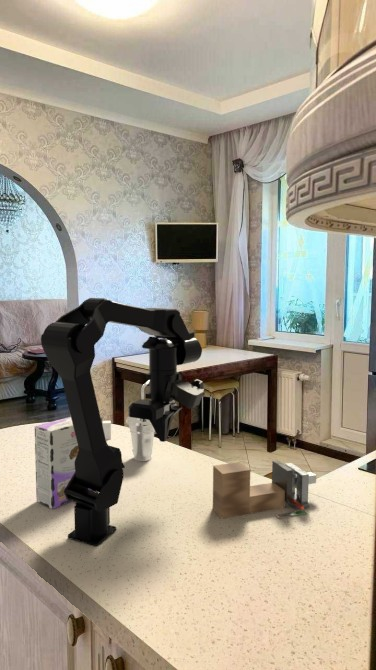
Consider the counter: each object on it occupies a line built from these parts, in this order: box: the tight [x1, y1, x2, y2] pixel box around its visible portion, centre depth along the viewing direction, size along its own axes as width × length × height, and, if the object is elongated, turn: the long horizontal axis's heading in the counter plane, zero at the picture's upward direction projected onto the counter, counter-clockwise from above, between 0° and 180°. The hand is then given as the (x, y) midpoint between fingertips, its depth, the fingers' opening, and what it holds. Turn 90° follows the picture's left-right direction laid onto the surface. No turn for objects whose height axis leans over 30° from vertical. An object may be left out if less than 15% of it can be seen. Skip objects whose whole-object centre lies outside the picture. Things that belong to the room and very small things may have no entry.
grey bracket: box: [271, 459, 317, 511], centre depth 104 cm, size 8×10×7 cm
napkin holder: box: [102, 420, 112, 440], centre depth 145 cm, size 15×11×6 cm
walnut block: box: [212, 461, 286, 519], centre depth 102 cm, size 14×4×9 cm, turn 110°
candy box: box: [34, 415, 103, 510], centre depth 107 cm, size 14×6×16 cm, turn 141°
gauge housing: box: [275, 462, 310, 520], centre depth 103 cm, size 8×10×7 cm
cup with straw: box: [125, 379, 156, 462], centre depth 129 cm, size 8×9×20 cm
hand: (163, 441), depth 106 cm, fingers closed
